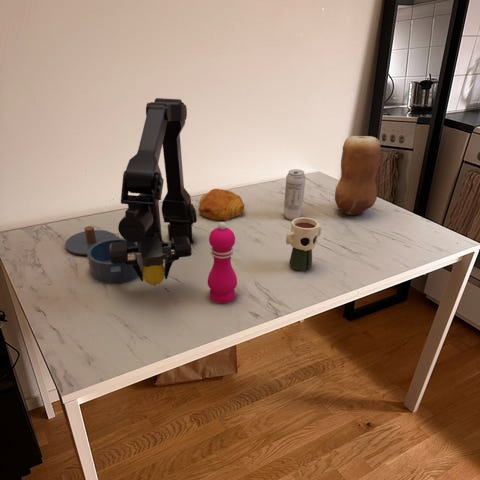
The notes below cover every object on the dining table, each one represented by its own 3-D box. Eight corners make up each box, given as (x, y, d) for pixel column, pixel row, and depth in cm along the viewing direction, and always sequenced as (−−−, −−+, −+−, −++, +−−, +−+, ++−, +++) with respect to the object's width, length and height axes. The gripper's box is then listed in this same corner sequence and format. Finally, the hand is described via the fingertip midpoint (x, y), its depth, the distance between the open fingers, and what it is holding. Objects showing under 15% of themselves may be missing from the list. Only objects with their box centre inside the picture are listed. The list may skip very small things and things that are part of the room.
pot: (141, 250, 131) (138, 232, 128) (145, 286, 117) (143, 266, 113) (92, 255, 129) (88, 236, 125) (90, 292, 114) (86, 272, 111)
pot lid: (117, 231, 141) (114, 215, 138) (118, 254, 130) (115, 237, 126) (67, 235, 138) (63, 219, 135) (64, 259, 127) (60, 242, 123)
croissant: (215, 205, 162) (213, 183, 158) (251, 211, 154) (250, 187, 150) (188, 218, 153) (185, 194, 149) (225, 225, 144) (223, 200, 140)
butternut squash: (346, 201, 162) (359, 127, 147) (380, 213, 155) (397, 136, 140) (323, 212, 154) (334, 136, 139) (357, 225, 147) (373, 146, 132)
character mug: (291, 277, 122) (295, 232, 114) (276, 265, 126) (280, 221, 119) (324, 267, 126) (330, 224, 118) (309, 256, 131) (314, 213, 123)
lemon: (161, 292, 112) (158, 264, 107) (140, 289, 113) (136, 261, 108) (169, 280, 116) (166, 253, 111) (148, 278, 117) (145, 250, 112)
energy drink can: (304, 215, 152) (309, 171, 143) (296, 222, 148) (300, 176, 139) (288, 211, 155) (292, 167, 146) (279, 217, 151) (283, 172, 142)
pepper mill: (207, 288, 116) (205, 215, 104) (235, 288, 117) (237, 215, 105) (208, 305, 111) (206, 230, 98) (237, 304, 111) (239, 229, 99)
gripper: (105, 242, 96) (116, 302, 105) (193, 234, 99) (196, 293, 109) (105, 219, 104) (115, 277, 114) (186, 212, 108) (189, 269, 117)
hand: (154, 279), depth 113 cm, fingers closed on lemon, 5 cm apart
